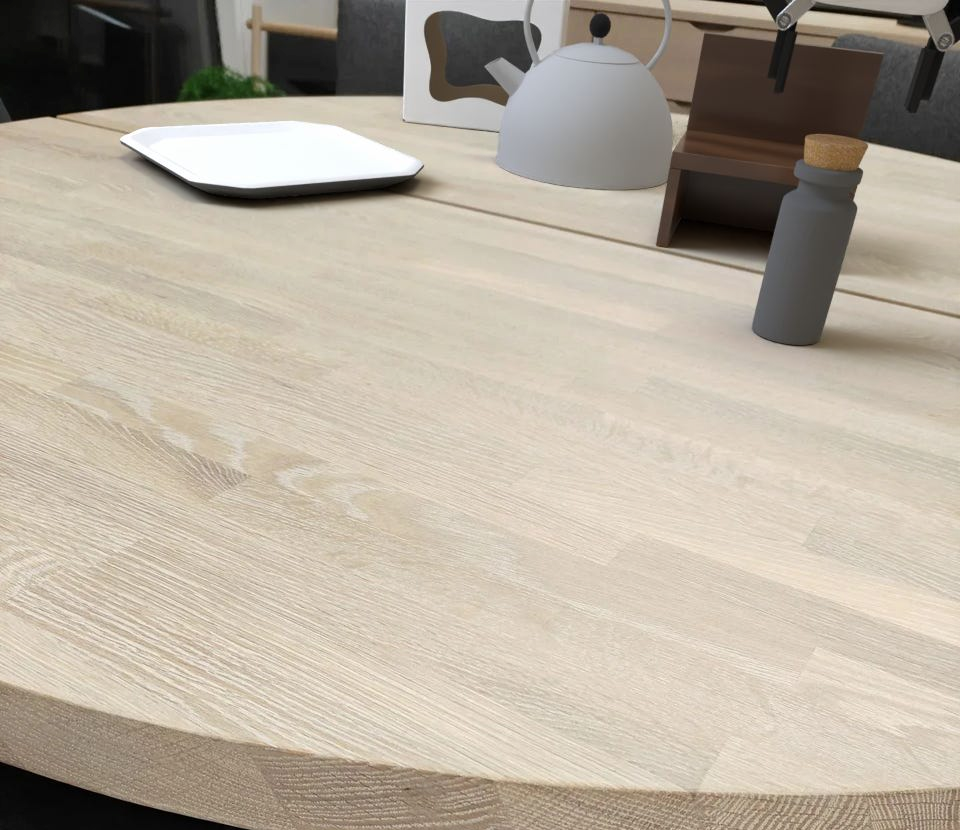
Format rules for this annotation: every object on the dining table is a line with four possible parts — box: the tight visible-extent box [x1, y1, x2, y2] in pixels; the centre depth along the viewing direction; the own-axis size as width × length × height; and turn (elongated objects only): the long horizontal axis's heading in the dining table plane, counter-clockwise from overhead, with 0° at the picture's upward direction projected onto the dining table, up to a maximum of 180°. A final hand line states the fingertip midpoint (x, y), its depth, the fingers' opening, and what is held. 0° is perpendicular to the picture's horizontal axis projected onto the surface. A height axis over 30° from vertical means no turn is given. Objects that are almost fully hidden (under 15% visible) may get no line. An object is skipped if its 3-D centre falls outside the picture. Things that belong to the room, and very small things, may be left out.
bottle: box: [751, 134, 869, 346], centre depth 80 cm, size 6×6×15 cm
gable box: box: [402, 0, 571, 133], centre depth 141 cm, size 22×13×28 cm, turn 82°
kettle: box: [484, 0, 674, 191], centre depth 123 cm, size 25×23×22 cm
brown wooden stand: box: [655, 31, 885, 248], centre depth 102 cm, size 14×18×18 cm
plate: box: [119, 120, 425, 200], centre depth 116 cm, size 29×29×2 cm
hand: (843, 101), depth 74 cm, fingers open, 9 cm apart
